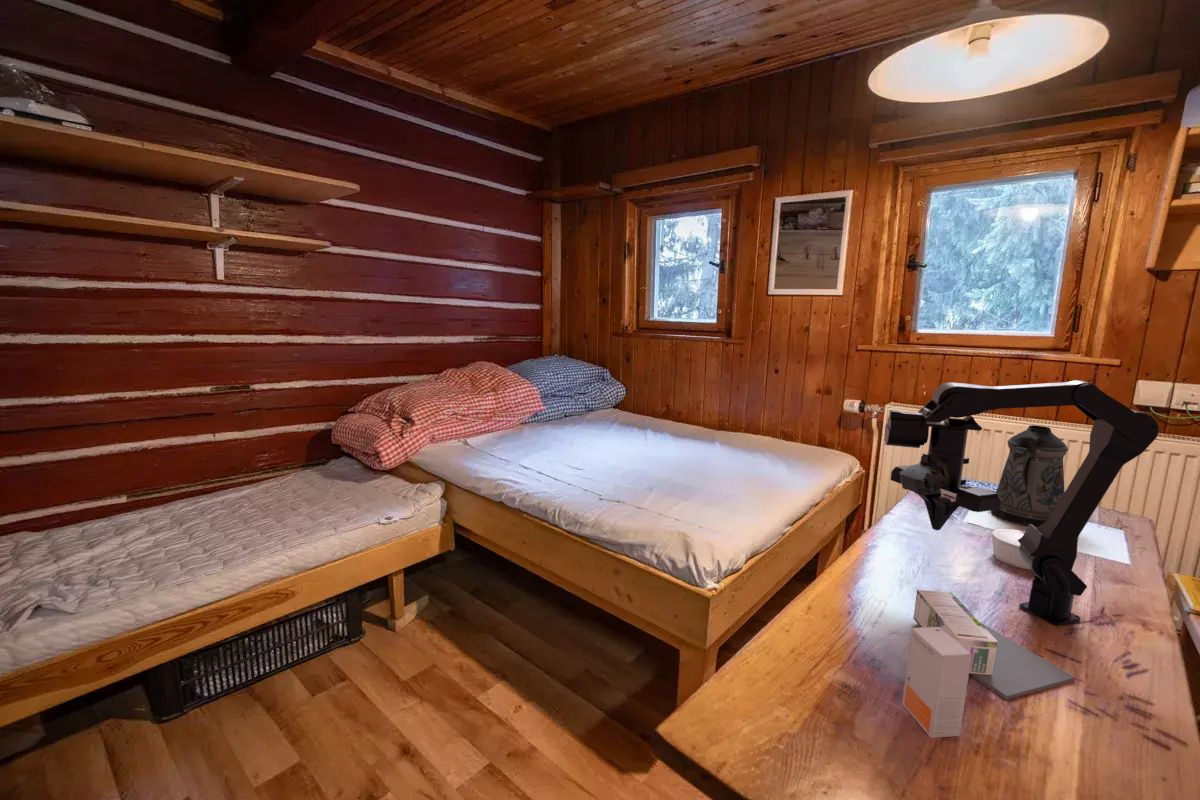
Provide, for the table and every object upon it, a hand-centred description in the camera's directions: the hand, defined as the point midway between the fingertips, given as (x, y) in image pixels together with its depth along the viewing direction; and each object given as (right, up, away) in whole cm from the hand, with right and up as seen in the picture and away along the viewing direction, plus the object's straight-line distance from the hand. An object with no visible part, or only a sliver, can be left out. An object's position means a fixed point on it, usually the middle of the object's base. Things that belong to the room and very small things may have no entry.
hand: (936, 529), depth 102 cm
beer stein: (+50, -7, +40) cm, 64 cm away
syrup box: (-6, -11, -9) cm, 15 cm away
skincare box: (-20, -18, -31) cm, 41 cm away
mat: (-2, -16, -17) cm, 24 cm away
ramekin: (+29, -11, +16) cm, 35 cm away
